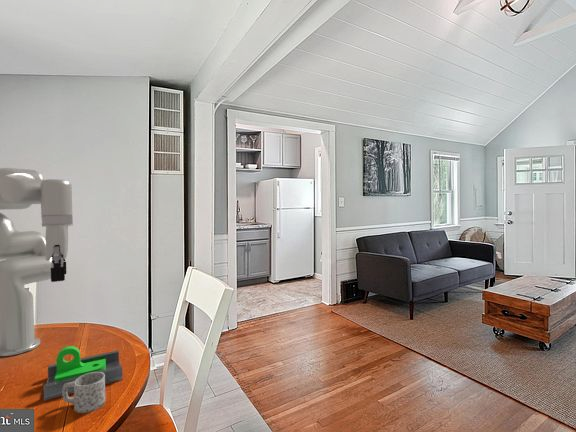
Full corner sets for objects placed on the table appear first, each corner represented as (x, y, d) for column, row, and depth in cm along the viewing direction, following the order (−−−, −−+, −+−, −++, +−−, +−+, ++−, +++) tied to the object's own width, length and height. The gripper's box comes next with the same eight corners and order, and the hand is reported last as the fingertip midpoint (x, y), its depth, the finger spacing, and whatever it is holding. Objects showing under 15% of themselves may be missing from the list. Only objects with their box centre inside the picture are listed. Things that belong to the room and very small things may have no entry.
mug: (110, 396, 83) (110, 371, 83) (96, 413, 77) (95, 386, 77) (71, 397, 83) (71, 372, 83) (53, 414, 77) (53, 387, 76)
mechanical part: (54, 386, 86) (54, 357, 86) (57, 375, 92) (57, 348, 91) (105, 374, 92) (105, 347, 92) (105, 365, 98) (105, 339, 97)
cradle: (48, 377, 93) (48, 365, 92) (118, 360, 102) (118, 350, 102) (43, 400, 82) (43, 387, 81) (122, 379, 91) (122, 367, 91)
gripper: (44, 220, 100) (46, 274, 101) (37, 223, 86) (40, 285, 86) (73, 219, 104) (74, 271, 105) (71, 222, 90) (73, 282, 90)
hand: (59, 277), depth 96 cm, fingers open, 9 cm apart
